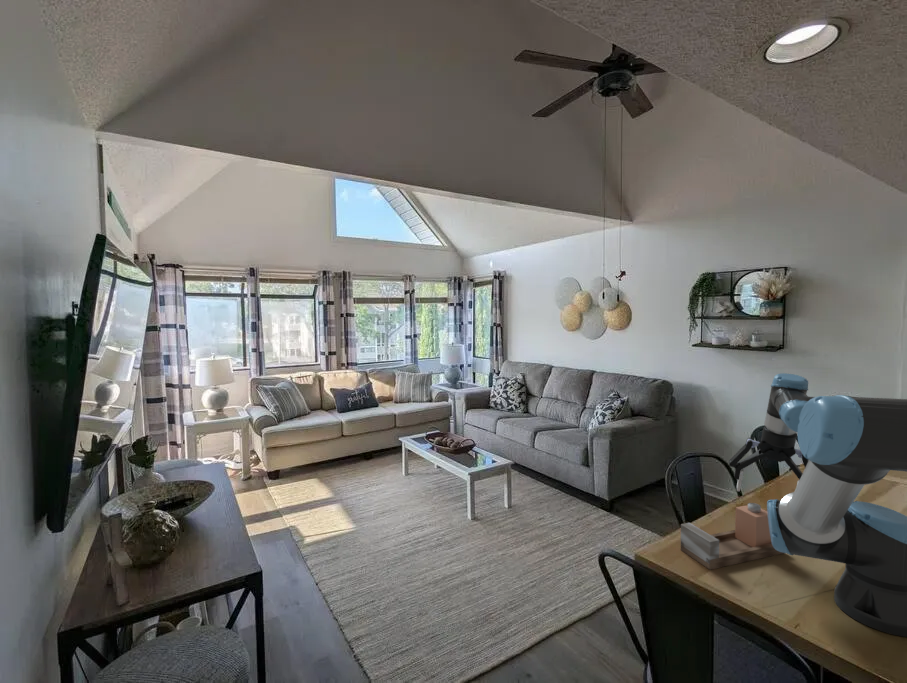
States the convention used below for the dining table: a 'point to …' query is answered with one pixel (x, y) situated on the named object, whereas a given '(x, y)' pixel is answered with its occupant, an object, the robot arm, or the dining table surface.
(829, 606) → the dining table surface
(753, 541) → the block
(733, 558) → the track
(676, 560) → the dining table surface
